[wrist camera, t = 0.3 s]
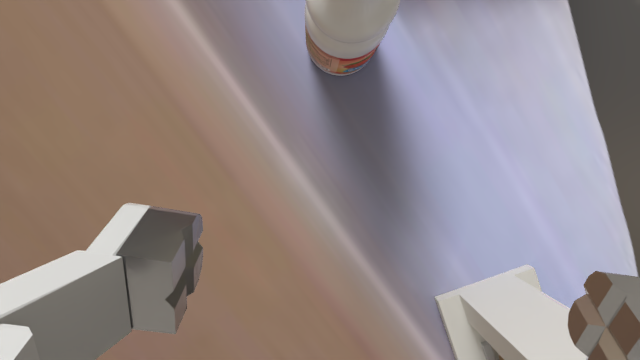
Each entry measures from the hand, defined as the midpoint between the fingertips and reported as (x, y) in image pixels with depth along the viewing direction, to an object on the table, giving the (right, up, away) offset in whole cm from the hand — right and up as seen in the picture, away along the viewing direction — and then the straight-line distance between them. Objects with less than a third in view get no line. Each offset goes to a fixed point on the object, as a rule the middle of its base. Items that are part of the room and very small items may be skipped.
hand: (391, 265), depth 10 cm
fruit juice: (+1, +21, +53) cm, 57 cm away
